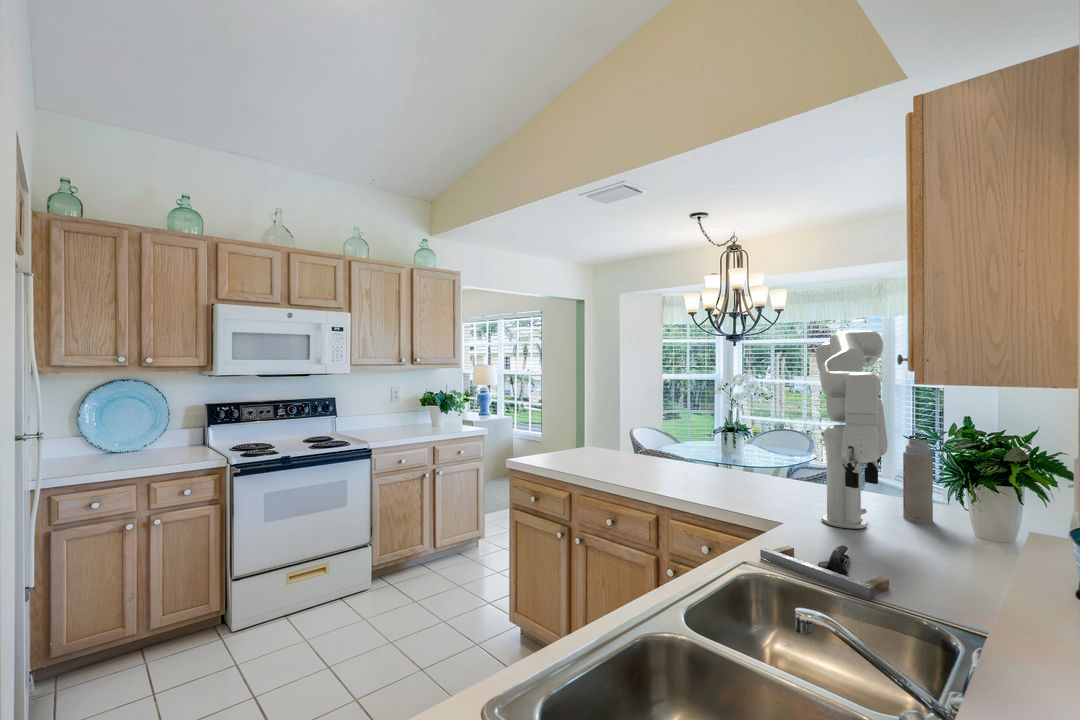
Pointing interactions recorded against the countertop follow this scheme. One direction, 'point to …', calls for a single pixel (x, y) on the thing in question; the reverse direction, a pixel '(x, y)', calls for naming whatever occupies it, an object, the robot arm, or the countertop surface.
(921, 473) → the thermos bottle
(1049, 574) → the countertop surface
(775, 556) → the dock
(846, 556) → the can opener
